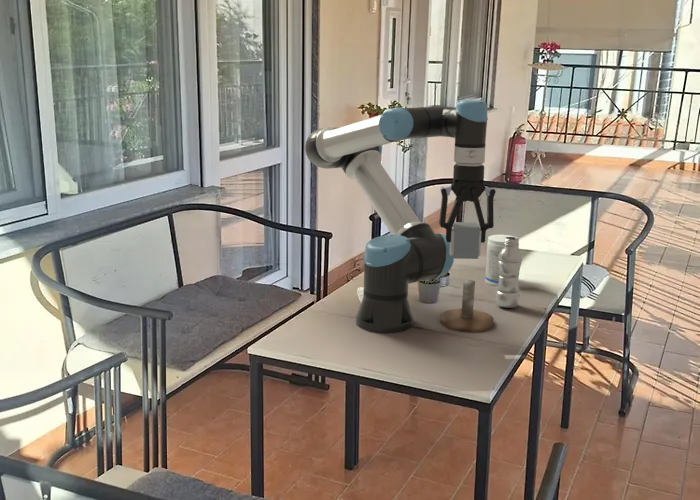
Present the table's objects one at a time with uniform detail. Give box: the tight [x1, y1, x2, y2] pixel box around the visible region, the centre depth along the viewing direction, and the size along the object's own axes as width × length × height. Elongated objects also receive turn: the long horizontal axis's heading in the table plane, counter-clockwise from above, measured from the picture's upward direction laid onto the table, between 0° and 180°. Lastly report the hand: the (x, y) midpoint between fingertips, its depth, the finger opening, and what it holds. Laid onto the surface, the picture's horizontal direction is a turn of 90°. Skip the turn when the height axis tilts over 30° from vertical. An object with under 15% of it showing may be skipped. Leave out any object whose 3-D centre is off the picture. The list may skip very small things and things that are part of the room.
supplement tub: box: [484, 234, 520, 288], centre depth 243 cm, size 10×10×15 cm
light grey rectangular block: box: [452, 221, 480, 260], centre depth 199 cm, size 6×6×8 cm
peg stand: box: [439, 279, 495, 333], centre depth 209 cm, size 14×14×12 cm
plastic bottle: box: [495, 236, 523, 309], centre depth 221 cm, size 6×7×20 cm
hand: (464, 254), depth 200 cm, fingers closed on light grey rectangular block, 6 cm apart
